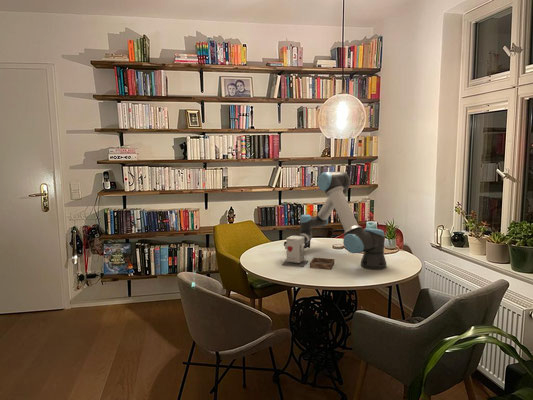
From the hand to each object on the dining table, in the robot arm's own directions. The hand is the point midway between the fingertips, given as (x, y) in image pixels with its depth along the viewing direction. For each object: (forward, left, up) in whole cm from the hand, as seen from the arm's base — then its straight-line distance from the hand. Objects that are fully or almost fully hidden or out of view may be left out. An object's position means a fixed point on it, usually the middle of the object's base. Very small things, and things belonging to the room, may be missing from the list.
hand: (293, 247), depth 232 cm
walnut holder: (-17, -4, -11) cm, 21 cm away
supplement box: (0, -4, -9) cm, 10 cm away
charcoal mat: (0, -4, -11) cm, 12 cm away
